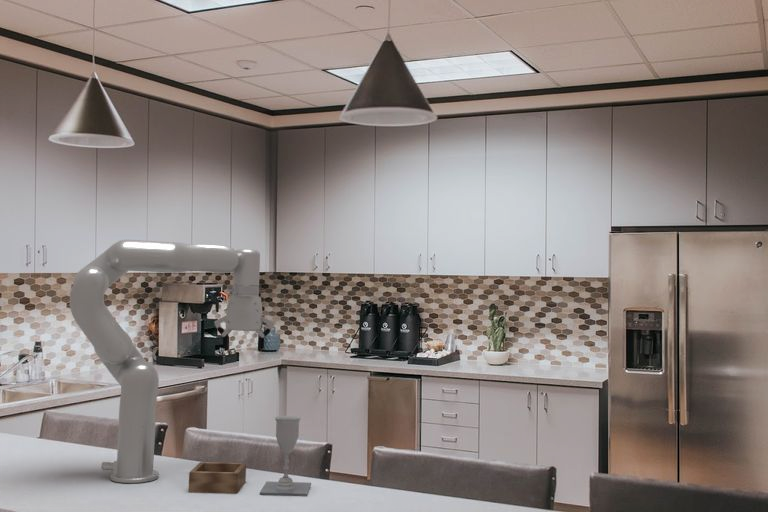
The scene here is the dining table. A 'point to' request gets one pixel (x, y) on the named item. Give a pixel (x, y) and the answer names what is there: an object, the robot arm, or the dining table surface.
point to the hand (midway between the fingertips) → (243, 350)
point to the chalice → (286, 445)
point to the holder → (217, 477)
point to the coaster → (299, 490)
